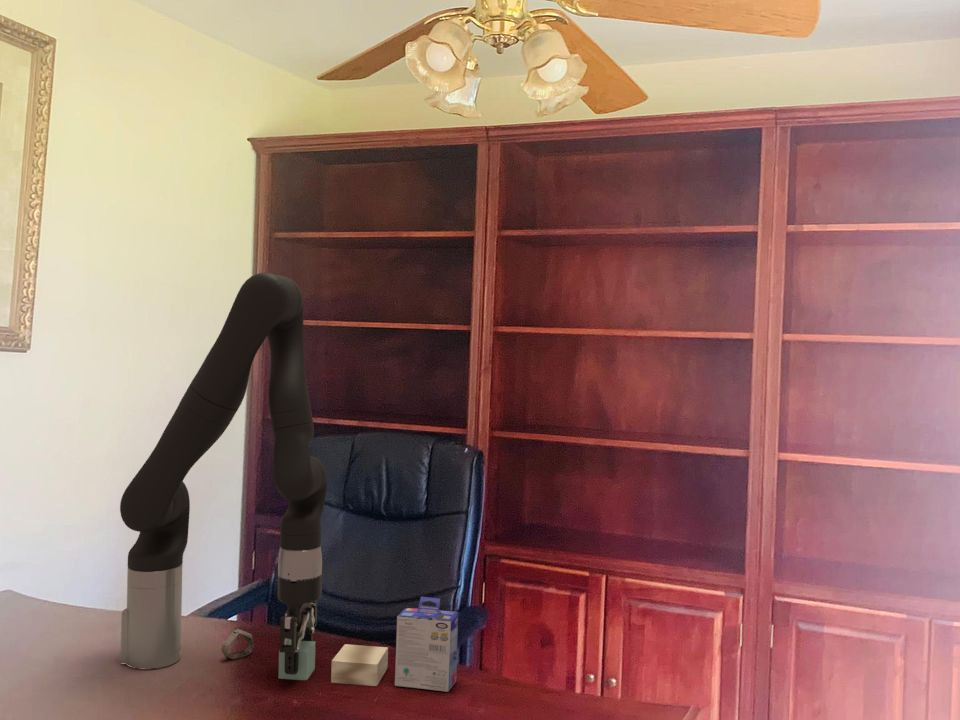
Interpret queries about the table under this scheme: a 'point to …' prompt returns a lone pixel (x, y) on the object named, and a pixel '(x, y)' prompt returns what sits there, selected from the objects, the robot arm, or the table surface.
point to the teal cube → (300, 662)
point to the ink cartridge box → (426, 647)
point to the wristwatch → (232, 638)
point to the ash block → (359, 665)
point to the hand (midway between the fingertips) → (298, 663)
